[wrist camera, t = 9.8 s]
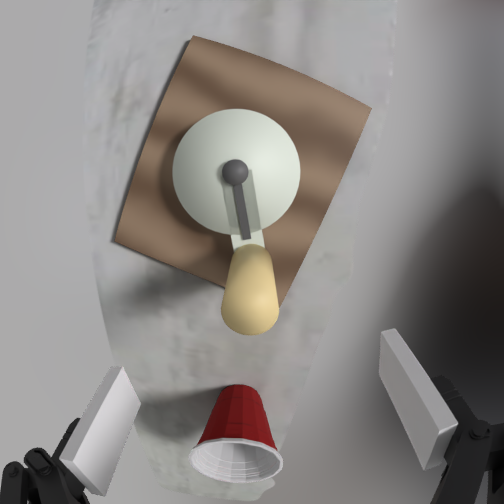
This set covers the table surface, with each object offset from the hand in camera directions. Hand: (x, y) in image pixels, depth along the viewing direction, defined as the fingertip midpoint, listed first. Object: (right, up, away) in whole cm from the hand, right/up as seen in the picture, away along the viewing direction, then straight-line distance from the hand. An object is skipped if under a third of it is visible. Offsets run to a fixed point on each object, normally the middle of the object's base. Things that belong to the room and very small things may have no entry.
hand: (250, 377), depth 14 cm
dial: (-1, +12, +17) cm, 20 cm away
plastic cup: (-2, -14, +26) cm, 30 cm away
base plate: (-1, +14, +17) cm, 22 cm away
